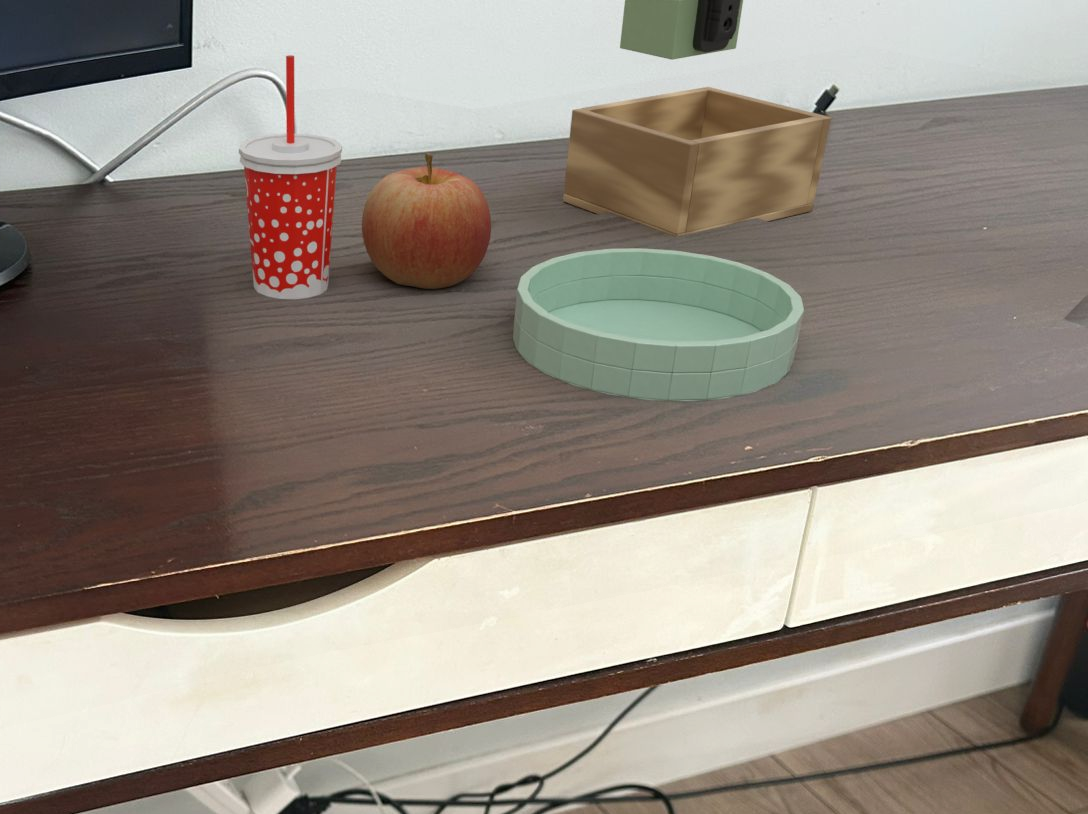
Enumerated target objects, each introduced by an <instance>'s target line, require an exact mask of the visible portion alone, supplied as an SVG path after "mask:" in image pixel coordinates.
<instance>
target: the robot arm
mask: <svg viewBox="0 0 1088 814" xmlns="http://www.w3.org/2000/svg"><path fill="white" fill-rule="evenodd" d="M740 1H741V0H698V7H697V14H696V22H695V29H694V37H693V48H694V49H695V50H697V51H701V52H711V51H716V50H722V49H724V48H725V47H726V46H727V45H728V43H729V39H732V38H733V35H734V33H735V31H736V27H737V21H738V19H737V18H738V14H739V11H738V10H739V7H740Z"/></svg>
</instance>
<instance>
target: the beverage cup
mask: <svg viewBox="0 0 1088 814" xmlns="http://www.w3.org/2000/svg"><path fill="white" fill-rule="evenodd" d="M285 89H286V90H285V107H286V108H285V109H286V110H285V111H286V114H285V115H286V116H285V117H286V120H285V121H286V122H285V123H286V129H285V130H286V133H279V134H278V133H277V134H276V133H275V134H274V133H273V134H266V135H260V136H256V137H251V138H248V139H247V140H245V141H243V142H241V143H240V144H239V146H238V154H239V155H240V157H239V163H240V164H241V165H242V166H243V170H244V182H245V183H244V184H245V192H246V193H245V195H246V206H247V207H246V208H247V209H246V210H247V217H248V218H247V219H248V231H249V232H248V233H249V243H250V244H249V245H250V257H251V267H252V268H251V269H252V280H253V289H254V290H255V291H256V293H258V294H260V295H263V296H265V297H266V298H267V297H268V298H273V299H279V300H301V299H310V298H312V297H317V296H319V295H321V294H323V293H324V292H326V291H327V290H328V287H329V282H330V281H329V279H330V266H331V252H332V239H333V226H334V225H333V224H334V210H335V196H336V183H337V171H338V166H339V165H341V162H342V153H343V145H342V144H341V143H340V142H339V141H338V140H336V139H333V138H330V137H327V136H324V135H318V134H317V135H316V134H308V133H295V121H296V120H295V55H291V54H290V55H289V54H288V55H286V56H285Z"/></svg>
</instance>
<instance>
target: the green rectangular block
mask: <svg viewBox="0 0 1088 814" xmlns="http://www.w3.org/2000/svg"><path fill="white" fill-rule="evenodd" d="M743 4H744V0H741V1H740V7H739V10H738V11H739V14H738V18H737V19H738V21H737V27H736V31H735V33H734V35H733V38H732V39H729V43H728V45H727V46H726V47H725V48H724V49H722V50H716V51H711V52H701V51H697V50H695V49H694V48H693V37H694V29H695V22H696V14H697V7H698V0H624V6H623V16H622V25H621V33H620V42H619V48H620V49H621V50H626V51H631V52H636V53H641V54H644V55H649V56H654V57H658V58H663V59H667V60H678V59H685V58H689V57H695V56H701V55H706V54H712V53H717V52H723V51H731V50H735V49H736V48H737V43H738V37H739V32H740V24H741V18H742V11H743Z"/></svg>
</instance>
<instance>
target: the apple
mask: <svg viewBox="0 0 1088 814" xmlns="http://www.w3.org/2000/svg"><path fill="white" fill-rule="evenodd" d="M424 159H425V161H426V166H418V167H413V168H407V169H402V170H400V171H395V172H391V173H389V174H387V175H386V176H384V177H382V178H381V179H380V180H379V181H378V182H377V183H376V184H375V185H374V186H373V188H372V189H371V190H370V192H369V194H368V197H366V201H365V204H364V208H363V212H362V217H361V235H362V240H363V243H364V247H365V250H366V253H367V254H368V257H369V258H370V260H371V262H372V263H373V265H374V266H375V268H377V270H378V271H379V272H380V273H381V274H383V275H384V276H385V277H386V278H387V279H389V280H391V281H392V282H393V283H395V284H397V285H400V286H404V287H405V286H406V287H414V288H419V289H424V290H438V289H445V288H450V287H452V286H454V285H455V286H456V285H457V284H459V283H461V282H463V281H464V280H466V279H467V278H469V277H470V276H471V275H472V274H474V272H475V271H476V270H477V269H478V267H480V265H481V263H482V262H483V259H484V258H485V256H486V253H487V251H488V249H489V248H488V247H489V246H490V245H489V244H490V241H491V234H492V217H491V211H490V208H489V204H488V201H487V199H486V197H485V195H484V192H483V191H482V190H481V188H480V187H479V185H477V184H476V182H474V181H473V180H472V179H470V178H468V177H466V176H465V175H461V174H458V173H457V172H454V171H451V170H446V169H442V168H438V167H433V166H432V165H433V154H432V153H430V152H426V153H425V154H424Z"/></svg>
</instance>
